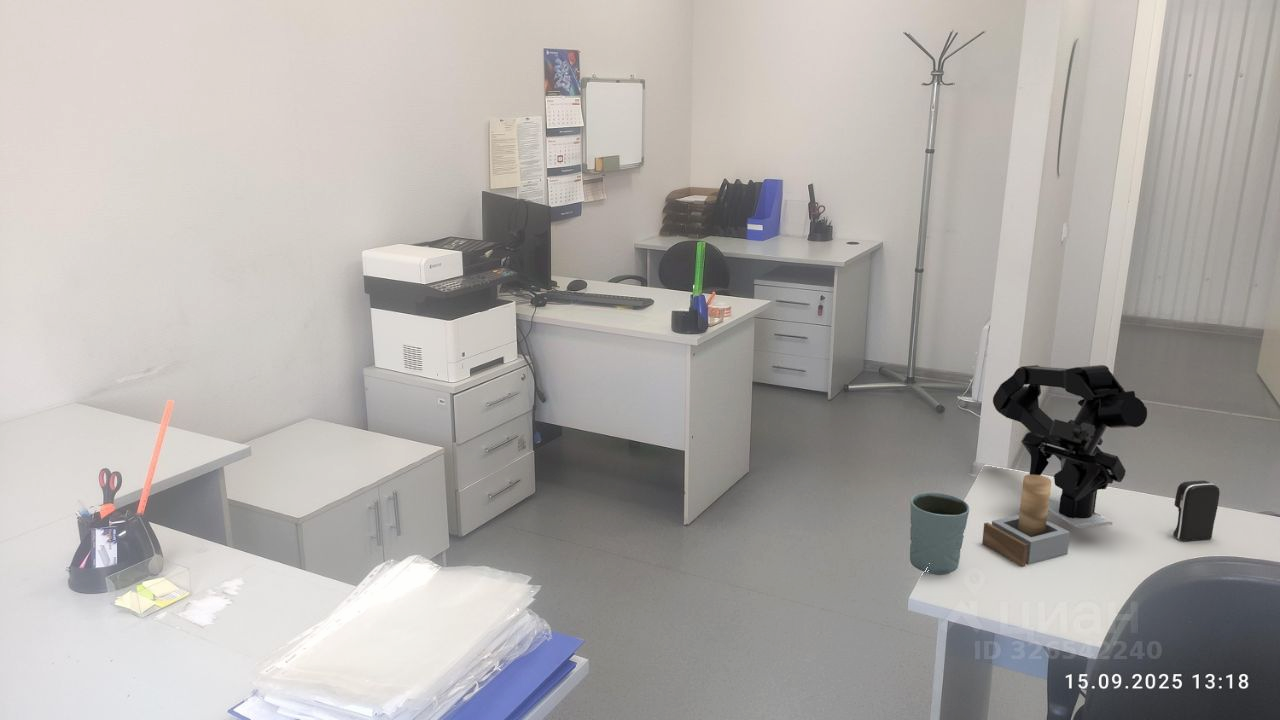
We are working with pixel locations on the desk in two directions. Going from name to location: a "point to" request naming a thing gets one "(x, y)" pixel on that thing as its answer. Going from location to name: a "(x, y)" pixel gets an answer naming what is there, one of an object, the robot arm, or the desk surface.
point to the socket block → (1037, 539)
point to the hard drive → (1077, 522)
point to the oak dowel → (1034, 505)
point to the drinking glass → (937, 531)
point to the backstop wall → (1005, 544)
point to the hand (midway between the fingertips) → (1051, 492)
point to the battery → (1196, 510)
